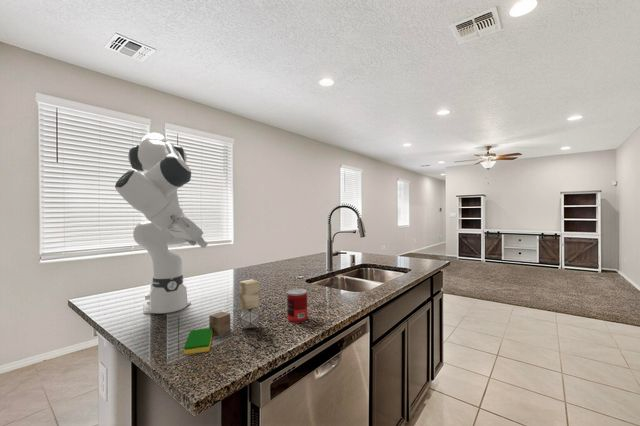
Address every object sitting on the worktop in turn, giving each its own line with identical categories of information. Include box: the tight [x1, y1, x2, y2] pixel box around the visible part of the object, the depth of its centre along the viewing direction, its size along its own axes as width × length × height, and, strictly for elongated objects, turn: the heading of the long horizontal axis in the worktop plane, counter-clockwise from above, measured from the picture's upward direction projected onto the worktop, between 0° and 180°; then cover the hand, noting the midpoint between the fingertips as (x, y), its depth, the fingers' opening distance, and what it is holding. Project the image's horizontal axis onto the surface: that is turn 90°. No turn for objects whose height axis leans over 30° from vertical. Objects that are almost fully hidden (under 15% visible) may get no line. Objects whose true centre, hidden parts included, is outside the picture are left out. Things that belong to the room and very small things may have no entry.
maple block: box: [239, 278, 260, 310], centre depth 106 cm, size 5×5×9 cm
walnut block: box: [208, 310, 231, 336], centre depth 103 cm, size 5×5×6 cm
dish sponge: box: [183, 327, 213, 355], centre depth 94 cm, size 7×14×2 cm, turn 16°
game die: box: [237, 307, 263, 332], centre depth 105 cm, size 9×8×10 cm
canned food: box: [286, 288, 308, 324], centre depth 114 cm, size 8×8×11 cm
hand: (199, 244), depth 97 cm, fingers open, 8 cm apart
